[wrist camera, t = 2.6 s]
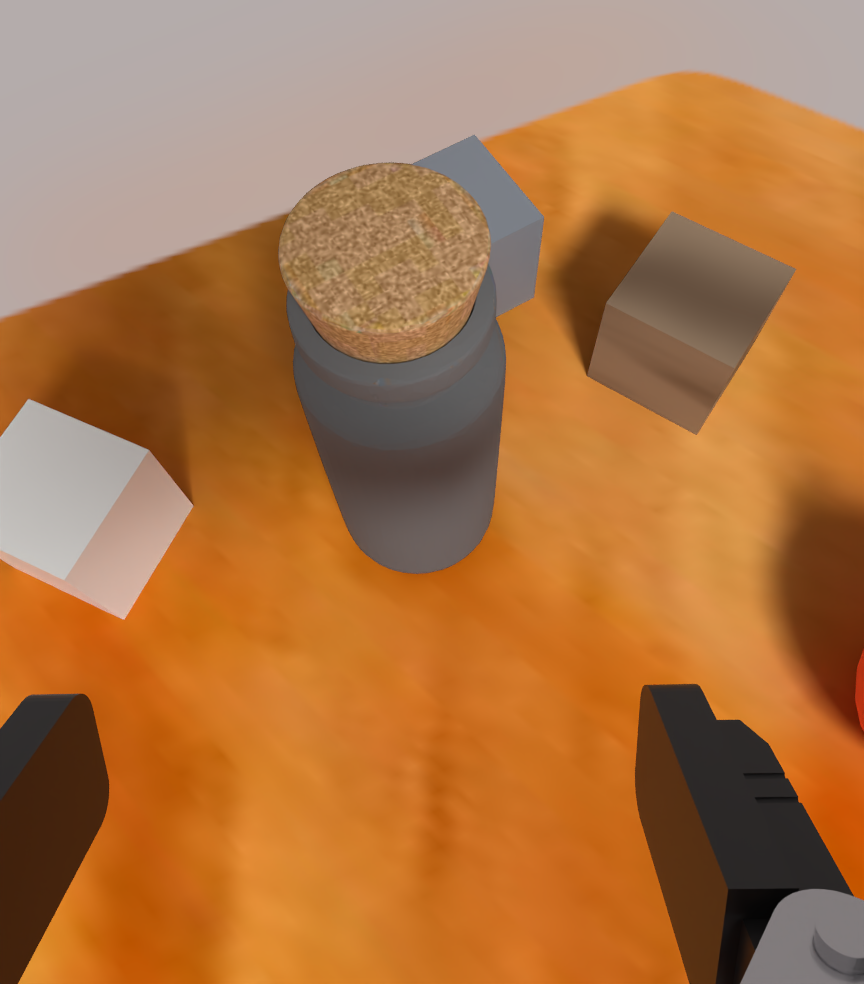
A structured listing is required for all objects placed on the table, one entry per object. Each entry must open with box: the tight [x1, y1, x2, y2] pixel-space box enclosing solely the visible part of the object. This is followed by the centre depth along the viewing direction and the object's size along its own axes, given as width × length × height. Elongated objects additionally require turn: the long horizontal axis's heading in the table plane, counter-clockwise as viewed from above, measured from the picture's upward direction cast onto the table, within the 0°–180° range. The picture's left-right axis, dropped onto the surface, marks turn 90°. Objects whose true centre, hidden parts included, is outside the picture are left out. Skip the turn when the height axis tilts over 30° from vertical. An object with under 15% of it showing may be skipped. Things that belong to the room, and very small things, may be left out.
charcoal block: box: [411, 135, 544, 317], centre depth 34 cm, size 5×5×5 cm
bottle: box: [278, 163, 506, 574], centre depth 25 cm, size 6×6×15 cm
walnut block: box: [587, 212, 796, 435], centre depth 32 cm, size 5×5×5 cm
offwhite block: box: [0, 399, 193, 620], centre depth 29 cm, size 5×5×5 cm
